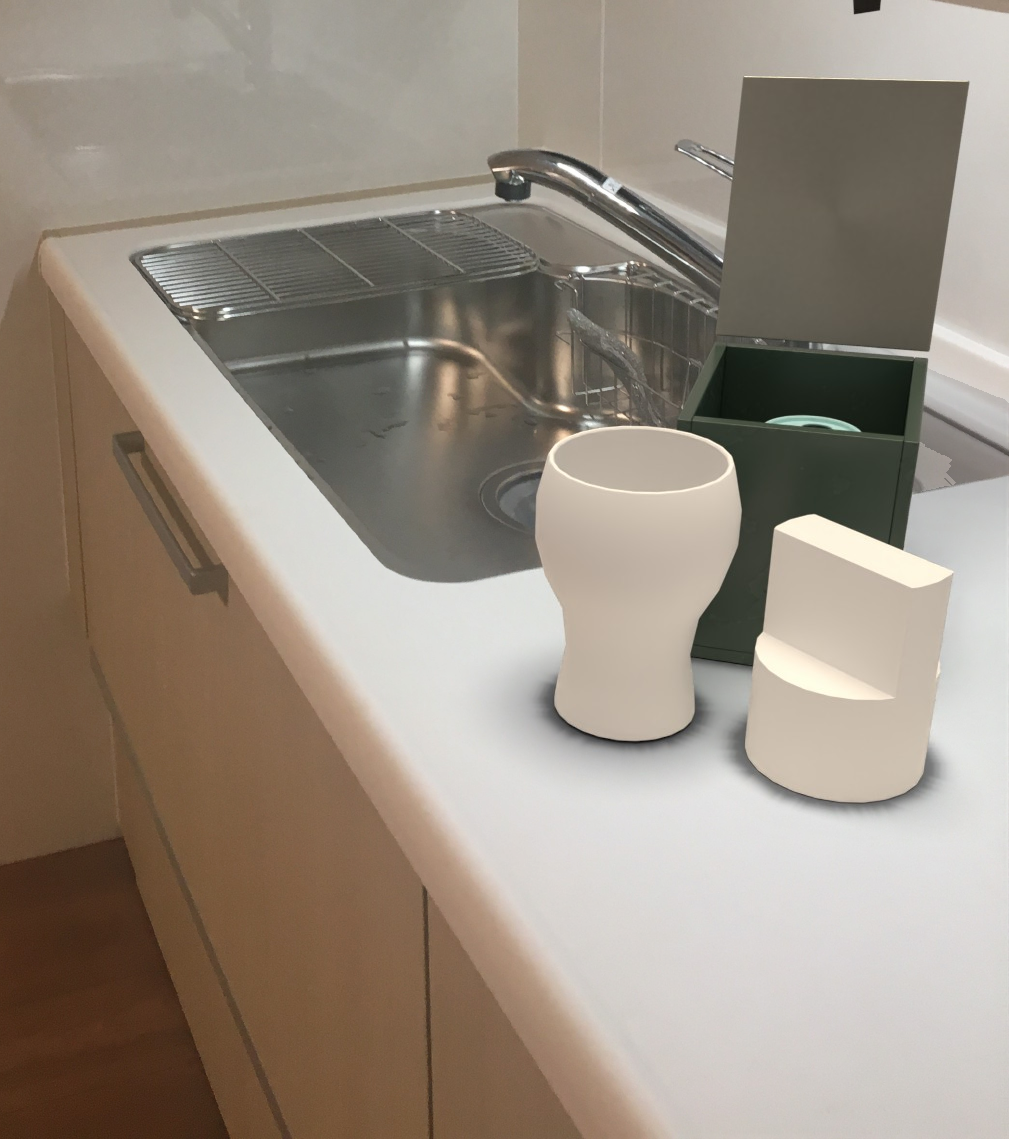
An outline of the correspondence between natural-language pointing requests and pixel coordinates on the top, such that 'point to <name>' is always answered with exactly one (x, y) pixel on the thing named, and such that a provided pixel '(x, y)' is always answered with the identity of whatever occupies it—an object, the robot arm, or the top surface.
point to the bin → (802, 460)
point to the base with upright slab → (845, 663)
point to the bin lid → (840, 209)
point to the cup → (634, 570)
